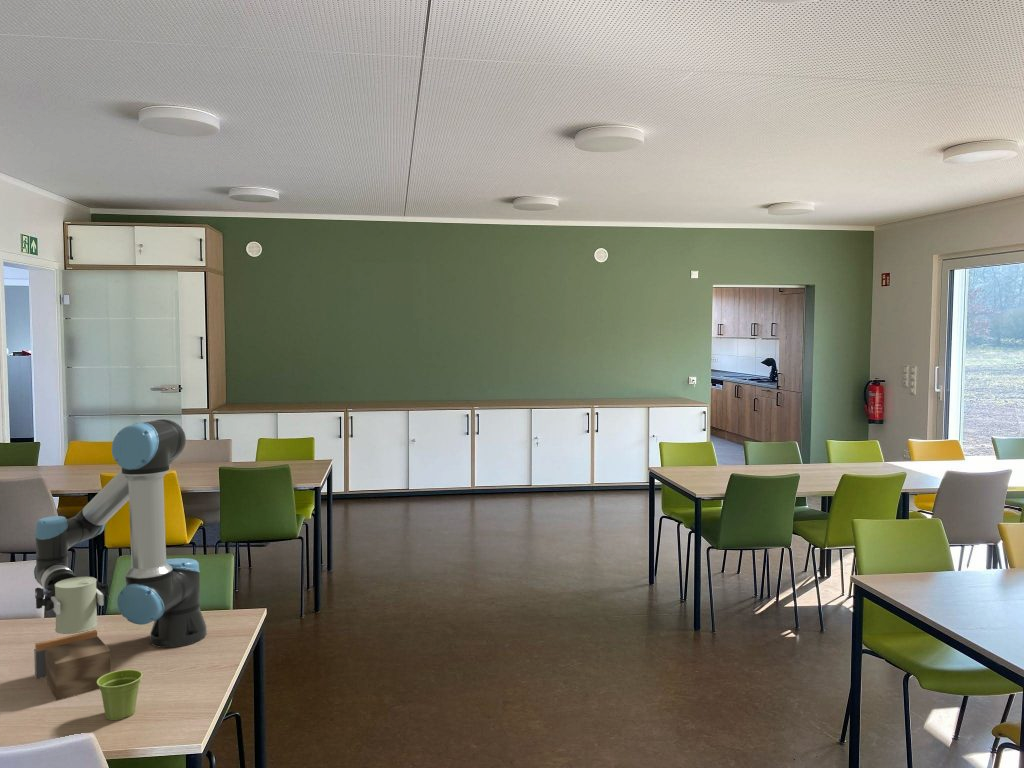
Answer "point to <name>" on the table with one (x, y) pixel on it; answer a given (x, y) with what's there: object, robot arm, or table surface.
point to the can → (76, 605)
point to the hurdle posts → (40, 663)
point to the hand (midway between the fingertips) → (80, 604)
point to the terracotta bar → (65, 640)
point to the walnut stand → (76, 667)
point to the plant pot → (119, 693)
